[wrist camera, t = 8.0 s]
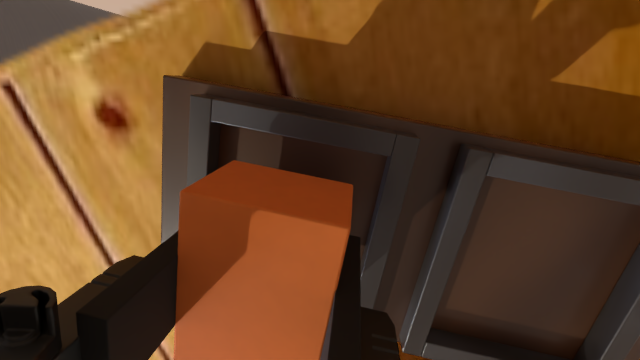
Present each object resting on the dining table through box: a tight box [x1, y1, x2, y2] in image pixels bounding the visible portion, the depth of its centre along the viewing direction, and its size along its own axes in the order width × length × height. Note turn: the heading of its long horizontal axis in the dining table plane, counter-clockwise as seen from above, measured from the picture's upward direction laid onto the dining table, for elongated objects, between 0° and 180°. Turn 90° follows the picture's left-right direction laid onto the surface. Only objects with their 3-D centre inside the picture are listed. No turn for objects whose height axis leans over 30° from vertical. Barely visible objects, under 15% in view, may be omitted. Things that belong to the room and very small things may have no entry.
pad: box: [174, 160, 353, 360], centre depth 12 cm, size 5×7×4 cm
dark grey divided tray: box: [161, 75, 640, 360], centre depth 16 cm, size 26×12×3 cm, turn 81°
